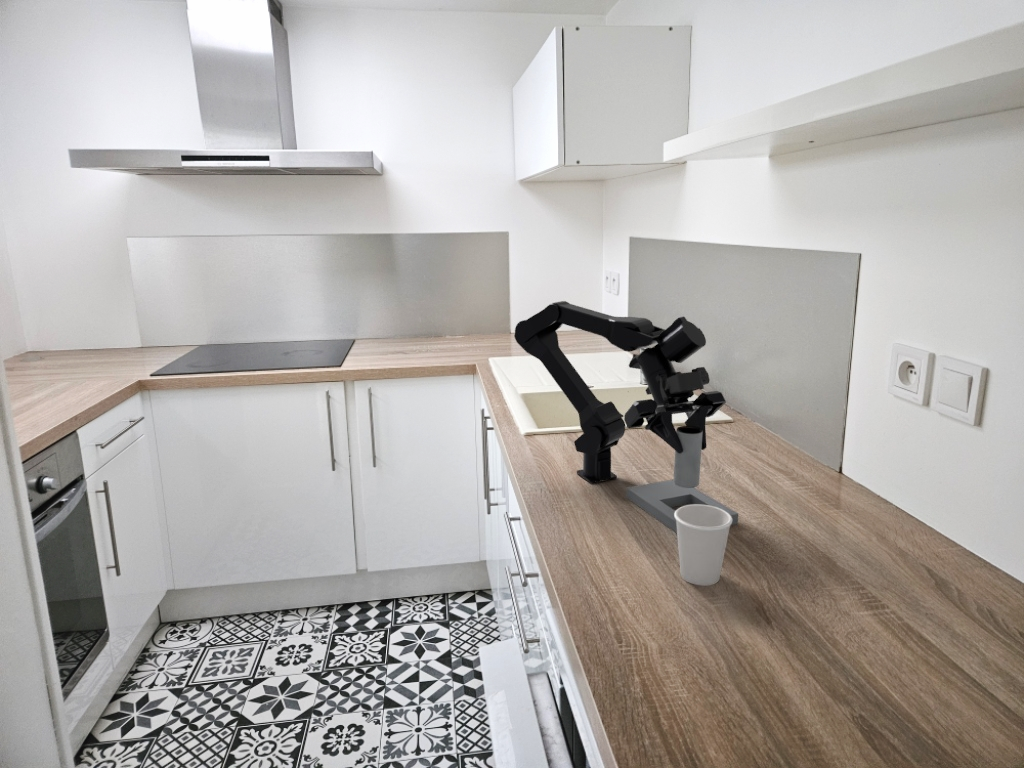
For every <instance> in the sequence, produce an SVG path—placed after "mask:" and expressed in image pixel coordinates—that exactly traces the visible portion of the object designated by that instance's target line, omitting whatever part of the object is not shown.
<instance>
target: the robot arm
mask: <svg viewBox="0 0 1024 768" xmlns="http://www.w3.org/2000/svg"><path fill="white" fill-rule="evenodd" d="M563 325H565V326H568V327H572V328H575V329H578V330H581V331H585V332H587V333H592V334H595V335H597V336H600V337H603V338H604V339H605V340H607V341H608V342H609V343H610V344H611V345H612V346H614V347H616V348H618V349H620V350H622V351H624V352H628V353H629V352H634V351H637V350H640V349H643V348H645V349H644V350H642V351H641V352H640V353H639V354H635V353H634V354H632V358H631V360H630V361H629V364H628V367H629V368H631V369H637V370H640V371H641V373H642V375H643V377H644V379H645V380H644V381H645V382H646V384H647V388H646V389H645V392H646V395H651V396H652V398H649V399H643V400H635V401H634V402H633V404H631V406H630V407H629V408H628V409H627V410H626V412H625V413H624V414H622V413H621V412H619V410H618V409H617V407H616V405H615V403H613V402H612V401H611V400H610V401H609V402H608V401H607V402H605V403H604V402H603V401H601V400H599V399H598V398H597V397H596V395H595V394H594V393H593V391H592V389H591V388H589V386H588V384H587V383H586V382H585V381H584V379H583V378H582V376H581V375H580V374H579V372H578V370H576V368H575V367H574V365H573V364H572V363H571V362H570V360H569V359H568V357H567V356H566V354H565V353H564V351H563V350H562V349H561V347H560V346H559V337H558V334H557V332H556V331H558V330H559V329H560V328H561V327H562V326H563ZM705 336H706V335H705V334H704V333H703V330H701V328H700V327H698V326H696V324H695V323H693V322H691V321H688V319H687V318H686V317H685V316H680V317H678V318H676V319H675V320H674V321H673V322H672V323H671V325H669V326H668V327H667V328H665V329H664V328H662V327H659V326H656V325H654V324H653V322H652V320H650V319H648V318H645V317H637V316H636V317H635V316H613V315H609V314H606V313H603V312H599V311H597V310H592V309H589V308H586V307H583V306H578V305H575V304H572V303H569V302H568V301H566V300H561V301H556V302H552V303H550V304H548V305H547V306H546V307H544V309H542V310H541V311H539V312H537V313H535V314H534V315H532V316H530V317H529V318H527V319H524V320H521V321H519V322H517V324H516V325H515V328H514V340H515V341H516V343H517V344H518V345H519V346H520V347H521V348H522V349H523V350H524V351H525V353H527V354H529V355H531V356H532V357H533V358H535V359H537V360H539V361H540V362H541V363H542V365H543V367H545V369H546V370H547V372H548V373H549V375H550V376H551V377H552V379H553V380H554V382H555V383H556V384H557V386H558V387H559V389H561V391H562V392H563V394H564V395H565V397H566V398H567V399H568V401H569V402H570V403H571V405H572V406H573V408H574V409H575V411H576V412H577V414H578V418H579V425H580V429H581V431H582V434H581V435H580V436H578V437H577V438H576V439H575V440H574V447H575V451H576V452H578V453H581V454H583V459H582V469H579V470H576V474H577V475H579V476H580V478H583V479H584V480H586V482H587V483H590V484H593V483H599V482H605V481H609V480H611V481H612V480H616V479H618V475H617V474H616V473H613V472H612V448H613V447H615V446H618V443H619V441H620V439H622V438H623V437H624V435H625V432H626V428H628V429H634V428H641V427H643V425H644V422H645V420H646V425H645V426H644V429H645V430H646V431H651V432H652V433H654V435H656V436H657V437H659V438H660V439H661V440H663V441H664V442H665V443H666V444H668V445H669V447H671V448H672V449H673V450H674V452H675V451H676V452H678V453H679V454H681V453H682V452H683V448H682V445H681V442H680V439H679V437H678V435H677V432H676V428H675V426H674V424H673V415H676V414H682V413H683V414H684V413H685V415H686V417H687V419H686V420H685V422H684V424H685V426H695V427H698V428H700V429H702V431H703V434H702V449H701V451H704V450H706V448H707V435H706V434H707V433H706V431H707V430H706V420H707V419H706V418H709V417H713V416H714V415H715V414H716V413H717V412H718V411H719V410H720V409H721V408H722V407H723V406H724V405H725V404H726V403H727V401H726V399H725V396H724V394H723V393H722V392H720V391H718V390H713V391H705V392H701V393H700V394H699V395H698V397H696V398H695V399H694V400H689V398H692V397H693V396H694V395H695V394H694V392H695V391H698V390H704V389H705V387H704V385H709V384H710V376H709V373H708V371H707V369H706V368H705V366H699V367H696V368H692V369H691V371H689V372H681V371H676V369H675V367H674V365H673V362H675V363H679V364H682V363H683V362H685V361H686V360H687V359H688V358H690V357H691V356H693V355H694V354H696V353H698V351H699V350H701V349H702V348H703V347H705V346H706V344H707V339H706V337H705ZM654 344H655V345H654ZM651 345H654V346H652V347H649V346H651ZM623 417H624V418H623Z"/></svg>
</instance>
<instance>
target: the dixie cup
mask: <svg viewBox="0 0 1024 768" xmlns="http://www.w3.org/2000/svg"><path fill="white" fill-rule="evenodd" d="M674 517H675V519H676V525H677V533H676V534H677V536H676V537H677V547H678V560H679V568H680V576H681V579H683V580H684V581H685V582H687V583H690V584H692V585H695V586H701V587H702V586H705V587H706V586H707V587H708V586H712V585H714V584H717V583H718V582H719V580H720V577H721V572H722V567H723V561H724V556H725V554H726V553H725V551H726V546H727V542H728V538H729V533H730V528H731V526H732V525H731V524H732V517H731V516H730V514H728V513H727V512H726V511H724V510H722V509H720V508H717V507H714V506H709V505H701V504H693V505H691V504H687V505H682V506H679V507H678V508H677V509H676V510H675V513H674ZM730 525H731V526H730Z"/></svg>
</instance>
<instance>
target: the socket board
mask: <svg viewBox="0 0 1024 768" xmlns="http://www.w3.org/2000/svg"><path fill="white" fill-rule="evenodd" d="M625 498H627V499H628V500H629V501H630V502H632V503H634V504H635V505H636V506H637V507H639V508H641V509H642V510H643V511H645V512H646V513H647V514H649V515H650V516H652V517H653V518H655V519H656V520H657V521H659V522H660V523H661V524H663V525H664V526H665V527H667V528H668V529H670V530H671V531H672V532H674V533H675V534H677V525H676V519H675V517H674V513H675V511H676V510H675V509H673V508H675V507H676V508H677V507H683V506H686V505H693V504H701V505H709V506H714V507H717V508H720V509H722V510H724V511H726V512H727V513H728V514H730V516H731V517H732V524H731V525H730V527H731V526H734V525H738V524H739V512H737V511H735V510H733V509H731V508H729V506H727V505H725V504H723V503H722V502H719V501H718V500H716V499H714V498H713V497H711V496H709V495H707V494H706V493H704V492H702V491H701V490H699V489H698V488H697V487H694V488H683V487H679V486H677V485H675V484H674V478H672V479H668V480H661V481H655V482H651V483H650V482H649V483H645V484H639V485H634V486H628V487H626V493H625Z"/></svg>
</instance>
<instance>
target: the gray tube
mask: <svg viewBox="0 0 1024 768" xmlns="http://www.w3.org/2000/svg"><path fill="white" fill-rule="evenodd" d="M675 430H676V432H677V435H678V437H679V439H680V442H681V445H682V448H683V452H682V453H681V454H679V453H678V452H676V451H675V450H674V463H673V464H674V466H673V479H674V484H675V485H677V486H679V487H683V488H697V487H699V484H700V476H701V463H702V462H701V460H702V434H703V431H702V429H700V428H698V427H695V426H686V425H681V426H678V427H676V428H675Z"/></svg>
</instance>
